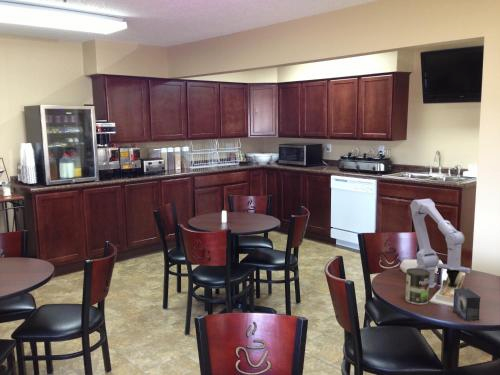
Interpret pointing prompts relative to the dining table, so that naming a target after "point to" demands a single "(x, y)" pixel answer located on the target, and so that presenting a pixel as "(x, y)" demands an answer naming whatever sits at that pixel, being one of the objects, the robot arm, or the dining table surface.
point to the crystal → (412, 265)
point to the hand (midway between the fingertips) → (452, 285)
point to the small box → (466, 304)
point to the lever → (458, 282)
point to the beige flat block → (444, 297)
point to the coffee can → (417, 286)
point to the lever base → (433, 300)
